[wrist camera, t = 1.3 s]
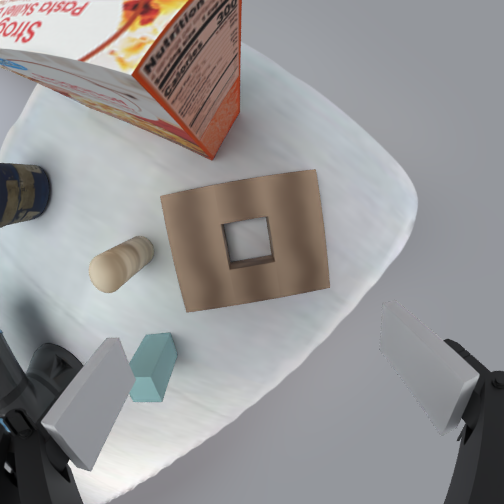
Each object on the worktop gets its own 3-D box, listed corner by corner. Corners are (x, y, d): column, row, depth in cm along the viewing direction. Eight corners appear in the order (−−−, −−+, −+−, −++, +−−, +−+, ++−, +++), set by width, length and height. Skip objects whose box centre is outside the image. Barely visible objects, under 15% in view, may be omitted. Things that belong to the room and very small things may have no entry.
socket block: (191, 301, 41) (186, 312, 37) (167, 195, 37) (160, 196, 33) (322, 278, 41) (330, 287, 37) (308, 171, 37) (315, 169, 34)
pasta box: (89, 107, 33) (-53, 47, 4) (114, 64, 32) (2, -31, 3) (212, 160, 37) (131, 75, 7) (239, 112, 35) (243, -51, 6)
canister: (25, 227, 37) (-46, 247, 19) (14, 179, 35) (-56, 184, 17) (58, 205, 36) (-20, 219, 19) (46, 155, 34) (-30, 148, 17)
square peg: (154, 356, 43) (133, 401, 31) (145, 334, 42) (121, 377, 30) (177, 354, 43) (162, 401, 31) (170, 332, 42) (150, 376, 30)
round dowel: (130, 267, 39) (95, 295, 28) (124, 239, 38) (84, 258, 27) (156, 262, 39) (126, 290, 28) (150, 233, 38) (116, 251, 27)
